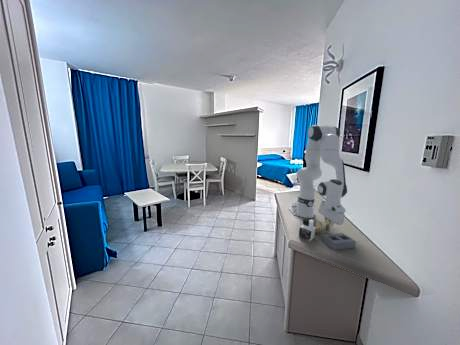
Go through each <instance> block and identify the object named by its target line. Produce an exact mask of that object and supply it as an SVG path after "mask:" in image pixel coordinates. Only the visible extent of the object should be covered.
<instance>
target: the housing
mask: <svg viewBox="0 0 460 345" xmlns="http://www.w3.org/2000/svg"><path fill="white" fill-rule="evenodd" d="M321 241H322V242H323V243H324V244H325V245H327V246H328V247H330V248H331V249H332V250H334V251H335V250H345V249H355V248H356V244H357V241H356V240H355V239H353V238H351V237H350V236H348V235H346V234H345V233H343V232H340V233H327V234H322V240H321Z"/></svg>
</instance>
